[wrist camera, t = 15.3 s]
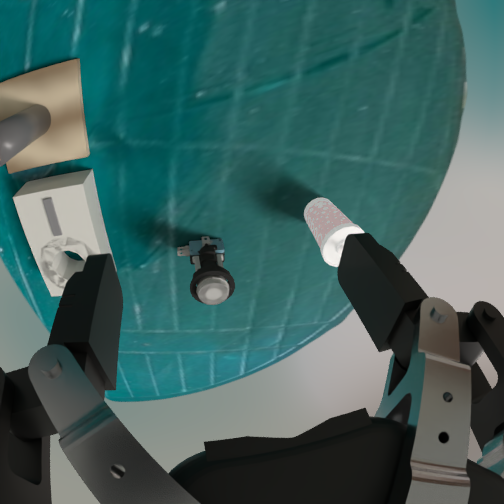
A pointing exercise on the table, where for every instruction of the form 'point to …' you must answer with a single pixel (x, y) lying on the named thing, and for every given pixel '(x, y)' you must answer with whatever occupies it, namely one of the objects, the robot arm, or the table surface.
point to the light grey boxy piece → (62, 224)
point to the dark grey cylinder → (22, 130)
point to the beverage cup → (329, 228)
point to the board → (61, 110)
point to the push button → (208, 271)
